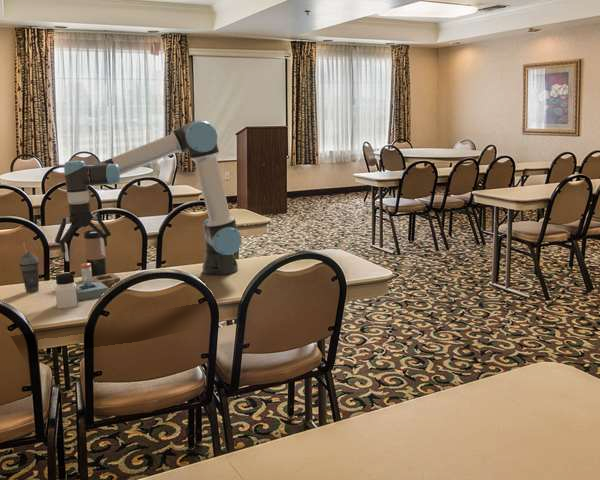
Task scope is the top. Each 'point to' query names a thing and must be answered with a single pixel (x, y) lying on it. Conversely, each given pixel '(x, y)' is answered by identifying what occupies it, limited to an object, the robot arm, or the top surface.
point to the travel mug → (94, 253)
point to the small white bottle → (86, 275)
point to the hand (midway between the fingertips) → (85, 257)
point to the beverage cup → (30, 271)
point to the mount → (106, 279)
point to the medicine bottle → (66, 291)
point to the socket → (91, 291)
